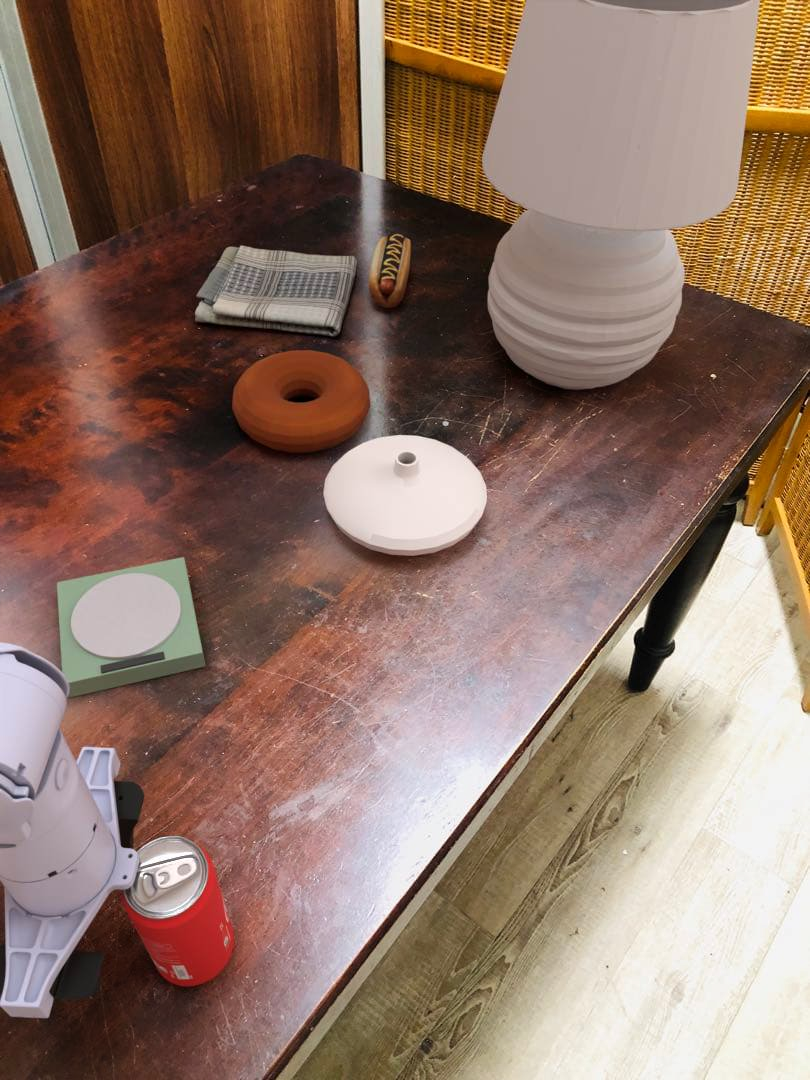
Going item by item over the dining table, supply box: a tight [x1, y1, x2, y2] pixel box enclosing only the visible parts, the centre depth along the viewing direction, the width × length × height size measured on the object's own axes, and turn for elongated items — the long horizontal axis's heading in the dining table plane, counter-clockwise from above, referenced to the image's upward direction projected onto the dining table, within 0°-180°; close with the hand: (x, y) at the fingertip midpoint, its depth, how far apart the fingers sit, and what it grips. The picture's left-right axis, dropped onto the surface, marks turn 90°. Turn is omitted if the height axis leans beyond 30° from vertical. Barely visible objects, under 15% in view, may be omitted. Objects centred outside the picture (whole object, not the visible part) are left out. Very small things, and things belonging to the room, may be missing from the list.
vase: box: [323, 434, 488, 557], centre depth 84 cm, size 16×16×7 cm
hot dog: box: [368, 231, 412, 309], centre depth 113 cm, size 5×13×5 cm, turn 175°
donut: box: [231, 349, 371, 454], centre depth 94 cm, size 15×15×5 cm
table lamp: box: [481, 0, 761, 391], centre depth 90 cm, size 25×25×40 cm
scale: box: [56, 556, 207, 698], centre depth 75 cm, size 11×11×2 cm
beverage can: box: [120, 835, 235, 987], centre depth 54 cm, size 5×5×12 cm
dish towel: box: [194, 245, 358, 337], centre depth 112 cm, size 19×18×3 cm
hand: (99, 924), depth 55 cm, fingers open, 7 cm apart
